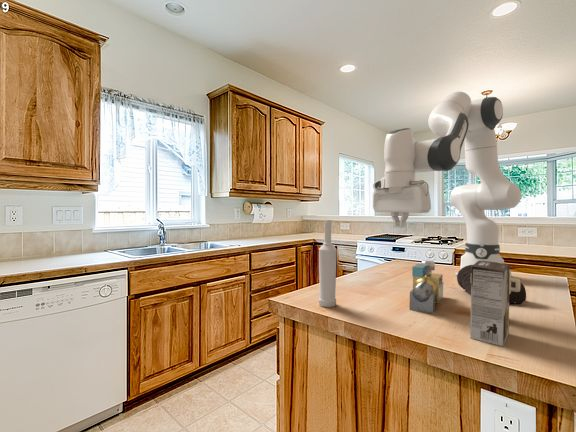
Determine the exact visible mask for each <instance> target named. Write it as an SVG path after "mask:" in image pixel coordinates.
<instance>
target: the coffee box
mask: <svg viewBox="0 0 576 432" xmlns="http://www.w3.org/2000/svg"><path fill="white" fill-rule="evenodd" d="M510 267H511V265H510V263H504V264H503V263H497V262H489V261H478V262H476V263H475V264H474V265H473V266H471V268H472V270H471V295H470V319H469V320H470V321H469V322H470V327H469V328H470V331H469V333H470V334H469V335H470V337H469V338H470V339H472V340H475V341H480V342H484V343H488V344H493V345H496V346H501V347H504V346H505V345H506V341H507V338H508V335H509V331H510V303H509V279H510V270H511V268H510Z"/></svg>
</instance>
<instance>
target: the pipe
mask: <svg viewBox="0 0 576 432" xmlns="http://www.w3.org/2000/svg"><path fill="white" fill-rule="evenodd" d="M471 266H473V265H468V266H465V267H463V268H462V269H461V268H460V269H461V270H460V269H459V272H458V271H457V272H458V275H456V279H457V280H456V281H457V284H458V286H459V287H460V288H462V289H463V290H465V292H467V293H468V294H469V295H470V296H471V270H472V268H471ZM511 287H513V288H515V287H516V283H515V282H511ZM525 301H527V291H526V288H525V286H524V284H523V283H522V282H521V281H520V292H514V291H511V293H510V295H509V304H521V303H525Z"/></svg>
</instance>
